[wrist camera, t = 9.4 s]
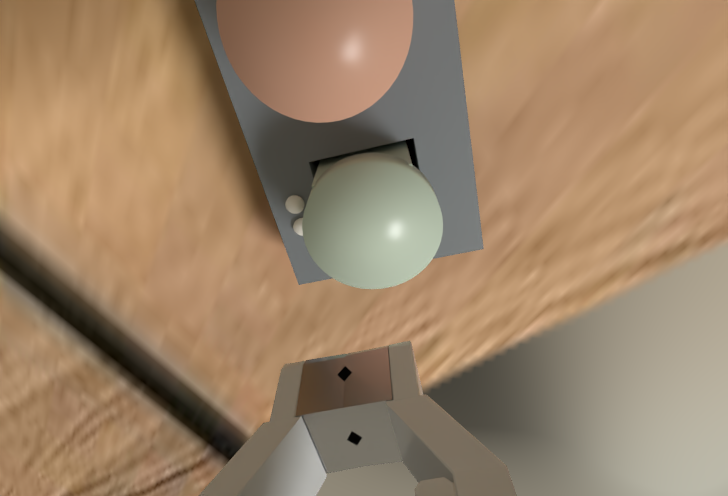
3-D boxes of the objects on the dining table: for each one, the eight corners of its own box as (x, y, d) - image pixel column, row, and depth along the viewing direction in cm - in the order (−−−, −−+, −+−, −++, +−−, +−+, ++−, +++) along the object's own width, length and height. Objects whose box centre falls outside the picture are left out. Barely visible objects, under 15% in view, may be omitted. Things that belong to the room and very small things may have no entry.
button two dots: (435, 222, 21) (451, 275, 17) (333, 242, 22) (324, 299, 18) (417, 116, 19) (431, 147, 14) (302, 143, 19) (283, 180, 15)
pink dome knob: (413, 76, 17) (427, 99, 12) (284, 108, 17) (256, 140, 13) (384, -88, 14) (391, -131, 10) (237, -44, 15) (182, -67, 11)
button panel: (470, 220, 22) (484, 250, 20) (306, 254, 23) (298, 286, 21) (386, -419, 13) (391, -541, 10) (112, -313, 14) (47, -395, 11)
